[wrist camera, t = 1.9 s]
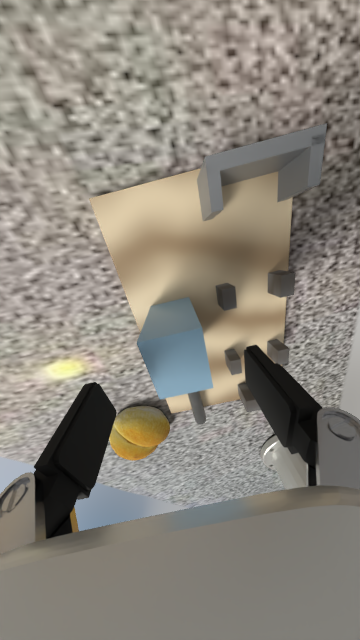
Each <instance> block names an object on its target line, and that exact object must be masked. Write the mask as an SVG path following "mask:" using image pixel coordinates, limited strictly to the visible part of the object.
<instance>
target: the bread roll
mask: <svg viewBox="0 0 360 640" xmlns="http://www.w3.org/2000/svg"><path fill="white" fill-rule="evenodd" d="M169 431H170V425H169V422H168V420H167V418H166V417H165V416H164V414H163V413H162V412H161V410H159V409H157V408H155V407H150V406H136V407H130V408H127V409H125V410H123V411H122V412H121V413H119V414H118V415H117V416H116V418H115V421H114V424H113V428H112V431H111V434H110V437H109V440H110V444H111V446H112V448H113V450H114V451H115V452H116V453H117V455H118V456H120V457H122V458H124V459H128V460H139V459H143V458H145V457H147V456H148V455H150V454H151V453H152V452H153V451H154V450H155V449H156V447H157V446H158V444H160V443H161V442H163V441H164V440H165V439H166V437H167V436H168V434H169Z"/></svg>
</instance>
